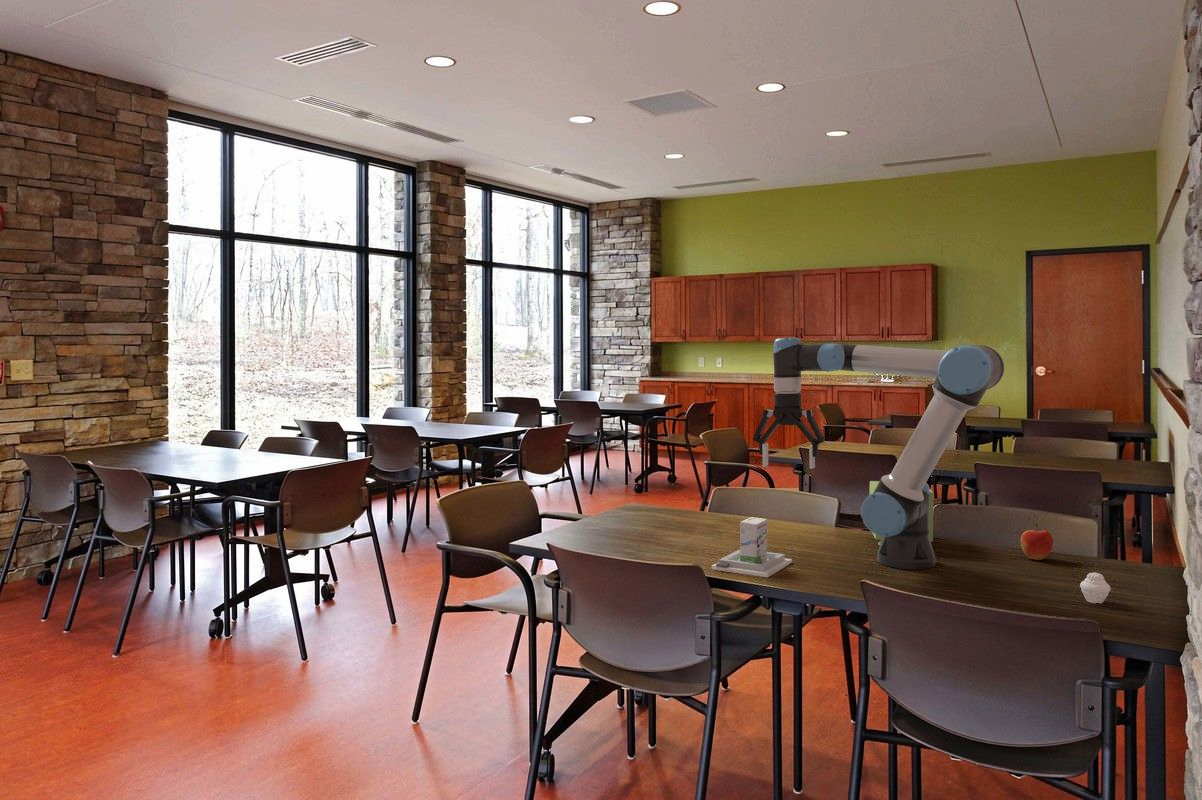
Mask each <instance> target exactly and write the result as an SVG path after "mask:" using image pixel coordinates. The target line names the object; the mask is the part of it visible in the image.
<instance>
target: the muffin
mask: <svg viewBox="0 0 1202 800" xmlns="http://www.w3.org/2000/svg"><path fill="white" fill-rule="evenodd" d="M1079 587H1080V589H1081V593H1082V595H1083V596H1084V598H1085V600H1086V602H1088V603H1091V604H1096V603H1099V604H1103V603H1104V602H1105V600H1106V598H1107V597H1108V595H1109V592H1110V591H1111V589H1112V588H1111V585H1110V584H1109V583H1107V581H1106V580H1105V576H1104V575H1102V574H1101V573H1099V572H1089V573H1088V574H1087V575H1086V578H1084V580H1083V581H1081V582H1080V585H1079Z"/></svg>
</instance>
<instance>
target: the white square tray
mask: <svg viewBox="0 0 1202 800" xmlns="http://www.w3.org/2000/svg"><path fill="white" fill-rule="evenodd" d="M790 563H791V564H792V563H793V558H786V554H785V553H779V552H771V551H767V560H766V561H765V562H763V563H761V564H757V563H749V562H742V561H740V549H738V550H736V551H733V552H731V553H729V554H727V555H726V556H724V557H722V558H720V559H718V562H716V563H714V564H712V565H711V570H714V571H720V572H728V573H735V574H740V575H748V576H754V577H762V578H769V577H770V576H772V575H774V574H775V573H777V572H779V571H780V570H782V569H784V568H785V567H787V566H789V565H790Z"/></svg>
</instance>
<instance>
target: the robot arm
mask: <svg viewBox="0 0 1202 800" xmlns="http://www.w3.org/2000/svg"><path fill="white" fill-rule="evenodd" d="M801 341H802V340H801V339H800V338H799V337H780V338H775V340H774V342H773V353H772V356H773V391H774V392H775V393H774V395H773V405H774V406H773V407H774V408H773V409H770V408H766V409H763V412H762V418H761V419H760V421H759V424H758V426H757V429H755V430H756V431H755V432H754V435H753V437H752V441H753V442H757V444H759V445H758V447H759V449H758V450H759V455H762V468H766V467H768V466H769V443H768V442H767V440H769V438H770V437H771V436H772V434H773V433H774V432H775V431H776V430H777V428H778V427H780V426H796V427H797V428H798V429H799V430H800V432H802V434H803V435H804V436H805V437H806V439H807V440H808V441H809V442H810V443H811V444H810V445H808V447H809V451H808V452H809V453H808V454H809V456H808V457H809V463H808V464H809V469H810V470H811V469H815V468H816V457H818V456H819V446H820V444H822V443H825V441H826V440H825V437H824V435H823V433H822V431H821V429H820V427H819V426H818V423H817V421H816V419H815V416H814V410H813V409H807V410H803V409H802V394H801V393H800V392H801V391H802V372H834V371H836V372H837V371H844V372H857V373H858V372H859V373H870V374H871V373H872V374H884V375H894V376H902V377H903V376H906V377H914V378H915V377H918V378H926V379H927V378H928V379H935V380H933V383H932V386H931V387H932V388H931V389H932V390H933V394H934V395H933V396H932V399H931V400H930V402H929V404H928V406H927V407H926V408H925V409H926V410H925V411H924V413H923V414H922V416H921V419H920V420H919V422H918V423H917V425H916V426H915V429H914V431H913V433H912V435H911V437H909V439H908V442H907V443H906V445H905V447H904V449H903V451H902V453H901V454H900V455H899V458H898V460H897V462H896V463H895V465H894V467H893V469H892V470H891V472H890V473H889V474H885V475H883V476H882V477H881V478H880V480H879V481H880V482H879V483H878V485H877V487H876V489H875V490H874V492H873V494H870V493H869V494H870V495H867V496H866V497H865V499H864V500H863V501H862V504H861V506H860V517H861V520H862V522H863V524H864V526H865V527H866V528H867V529H868V530H869V531H870V532H871V533H872V532H873V533H874V534H876V535H879V536H883V539H882V542H881V545H879V548H878V551H877V556H876V557H877V559H876V560H877V562H878V563H879V564H881V565H883V566H886V567H890V568H893V569H894V568H896V569H902V570H903V569H904V570H924V569H925V570H927V569H932V568H934V567H935V566H936V555H935V552H934V549H933V545H932V542H930V539H929V504H930V490H929V488H930V485H929V484H928V483H927V482H928V480H929V478H930V476H931V474H932V473H933V471H934V469H935V468H936V466H937V464H938V463H939V461H940V458H941V457H942V455H943V454H944V452H945V450H946V448H947V446H948V445H949V443H950V441H951V440H952V438H953V436H954V434H955V433H956V432H957V429H958V427H959V426H960V424H961V422H962V420H963V418H964V417H965V415H966V413H967V412H968V411H969V410H972V409H976V408H978V405H979V404H980V402H981V400H982V398H983V397H984V396H985V394H986V392H987V390H990V389H992V388H994V387H995V386H997V385H998V384H999V383H1000V381H1001V380H1002V378H1003V376H1004V373H1005V364H1004V363H1005V362H1004V359H1003V357H1002V356H1001V354H1000V353H999V352H998V351H996V350H995V349H994V348H992V347H990V346H987V345H980V344H978V345H974V344H962V345H958V346H956V347H954V346H953V347H951V348H950V349H949V350H943V349H942V350H940V349H930V348H929V349H927V348H925V349H924V348H909V347H895V346H894V347H893V346H892V347H891V346H880V345H866V344H865V345H863V344H862V345H861V344H850V343H831V342H830V343H829V342H828V343H827V342H826V343H812V344H811V343H810V344H809V343H808V344H804V343H802V342H801ZM772 416H773V417H774V418H775V419H774V421H773V422H772V424H770V426H769V428H768V429H767V430H766V431H765V428H766V426H767V424H768V422H769V420H770V418H771V417H772ZM803 416H804V417H805V418H806V419H807V422H808V423H809V425H810V427H811V428H810V429H811V430H812V432H813V433H812V432H811V431H810V430H809V428H808V427H807V426H806V425H805V423H804V422H803V421H802V419H801V418H802V417H803ZM764 431H765V433H764V434H763V432H764ZM762 434H763V435H762ZM873 533H872V534H873Z"/></svg>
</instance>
